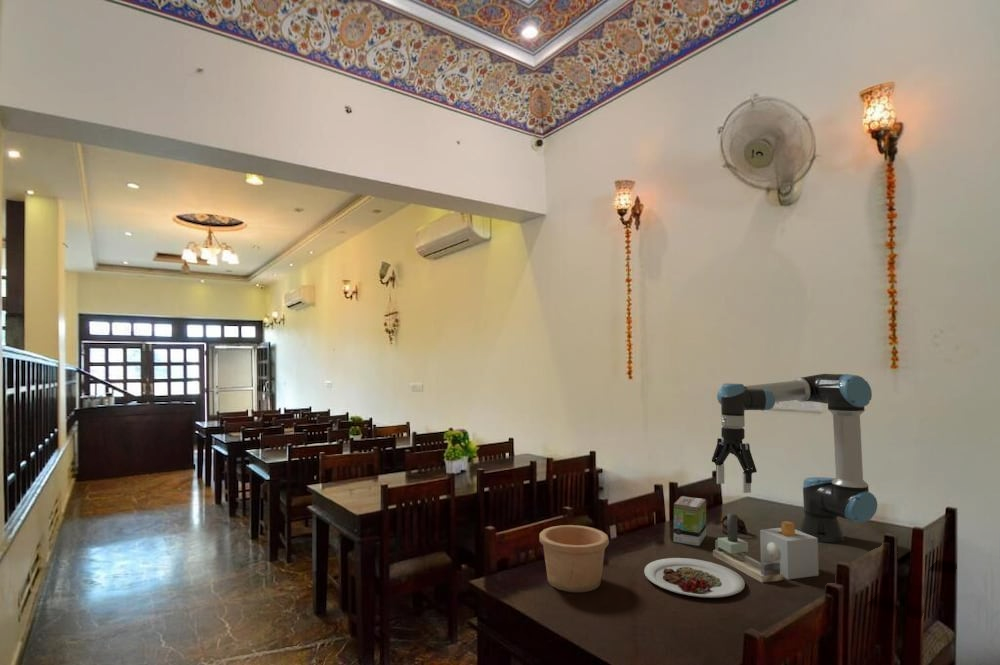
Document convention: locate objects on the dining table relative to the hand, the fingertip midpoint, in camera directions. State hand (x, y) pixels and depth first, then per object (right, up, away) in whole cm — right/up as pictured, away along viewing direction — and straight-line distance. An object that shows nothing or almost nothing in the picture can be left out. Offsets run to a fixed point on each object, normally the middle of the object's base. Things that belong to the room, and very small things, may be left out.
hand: (733, 488), depth 189 cm
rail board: (+1, -25, -7) cm, 26 cm away
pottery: (-59, -24, -19) cm, 66 cm away
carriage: (-1, -21, -1) cm, 21 cm away
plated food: (-21, -25, -18) cm, 37 cm away
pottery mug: (+13, -27, +30) cm, 42 cm away
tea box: (-8, -26, +21) cm, 35 cm away
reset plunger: (+14, -18, -10) cm, 25 cm away
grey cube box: (+14, -25, -10) cm, 30 cm away
